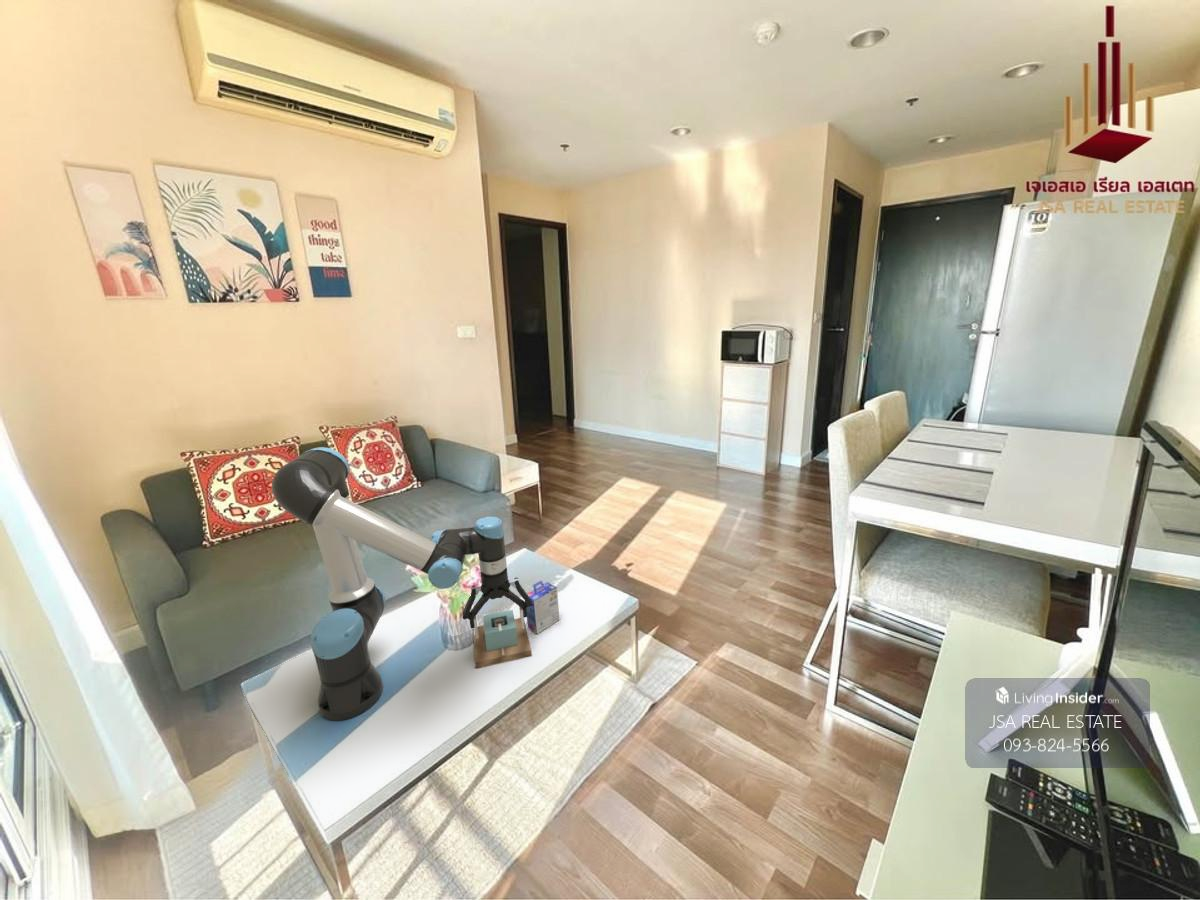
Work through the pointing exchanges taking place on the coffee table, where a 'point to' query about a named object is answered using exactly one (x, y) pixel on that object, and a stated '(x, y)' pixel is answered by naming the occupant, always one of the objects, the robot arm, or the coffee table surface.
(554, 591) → the ink cartridge box
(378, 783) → the coffee table surface
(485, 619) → the gray-green box with recess
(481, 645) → the brown wooden base
